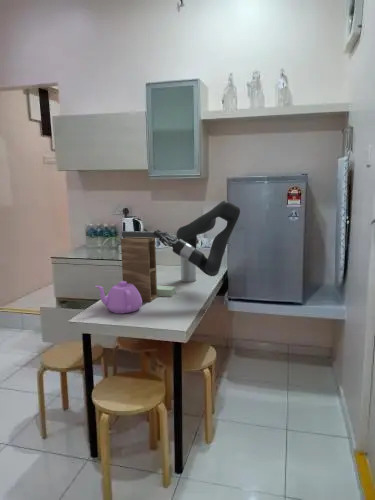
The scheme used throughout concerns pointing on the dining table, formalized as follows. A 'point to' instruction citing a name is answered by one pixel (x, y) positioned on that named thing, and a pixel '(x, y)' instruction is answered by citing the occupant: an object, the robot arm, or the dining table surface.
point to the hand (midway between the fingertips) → (155, 231)
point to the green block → (166, 291)
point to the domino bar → (141, 234)
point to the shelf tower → (140, 265)
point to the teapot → (121, 298)
